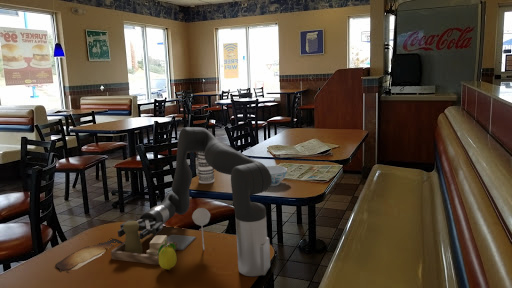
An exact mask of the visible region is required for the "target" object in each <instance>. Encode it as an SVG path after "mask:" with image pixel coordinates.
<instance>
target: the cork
mask: <svg viewBox="0 0 512 288" xmlns="http://www.w3.org/2000/svg"><path fill="white" fill-rule="evenodd" d="M127 221H128V220H127ZM136 221H137V220H132V221H128V222H126V221H125V222H126V223H125V222H124V223H125V224H124V226H123V230H124V232H125V236H124V237H125V238H124V239H125V240H124V242H125V251H124V252H130V253H139V254H143V252H144V250H143V245H142V242H141V239H140V237H139V234H140V232H139V231H138V229H139V224H138V222H136Z"/></svg>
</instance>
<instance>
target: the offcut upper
mask: <svg viewBox="0 0 512 288" xmlns="http://www.w3.org/2000/svg"><path fill="white" fill-rule="evenodd" d="M167 238H168V235H162V234H161V235H160V234H159V235H157V234H156V235H154V237H153V238H152V240H150V242H149V249H150V251H159V248H160V246H161V245H163V244H165V245H164V246H163V248H165V247H166V244H168V241H167ZM165 240H166V241H165ZM165 242H166V243H165ZM163 248H162V249H163ZM162 249H161V250H162Z"/></svg>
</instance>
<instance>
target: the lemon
mask: <svg viewBox="0 0 512 288" xmlns="http://www.w3.org/2000/svg"><path fill="white" fill-rule="evenodd" d="M165 241H166V240H165ZM165 243H166V242H165ZM164 245H165V244H163V245H161V246H160V248H159V251H158V254H159V264H158V265H159V266H160V268H162V269H165V270H168V271H170V270H171V269H172V268H173V267H175V266H176V263H177V260H178V259H177V253H176V251H174V250H173V249H176V246H175V244H173V243H171V244H169V245H167V244H166V247H165V248H163V246H164ZM167 246H168V247H167ZM162 248H163V249H162ZM161 249H162V250H161ZM159 252H160V253H159Z"/></svg>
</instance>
